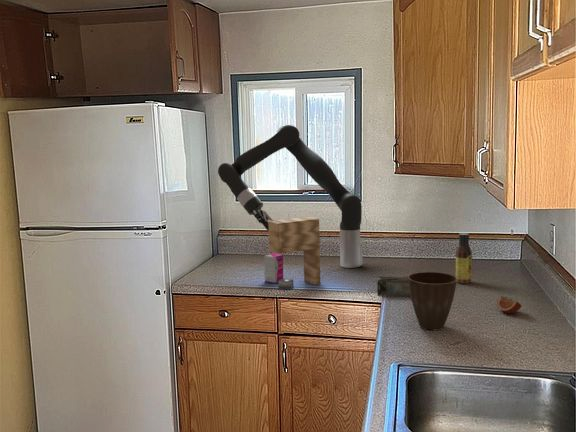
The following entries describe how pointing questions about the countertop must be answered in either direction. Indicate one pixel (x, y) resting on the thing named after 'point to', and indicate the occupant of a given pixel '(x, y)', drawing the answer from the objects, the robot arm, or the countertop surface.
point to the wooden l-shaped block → (298, 242)
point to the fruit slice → (508, 305)
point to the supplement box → (273, 268)
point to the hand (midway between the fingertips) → (273, 230)
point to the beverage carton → (393, 286)
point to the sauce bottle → (463, 260)
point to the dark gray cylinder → (285, 283)
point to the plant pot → (432, 297)
